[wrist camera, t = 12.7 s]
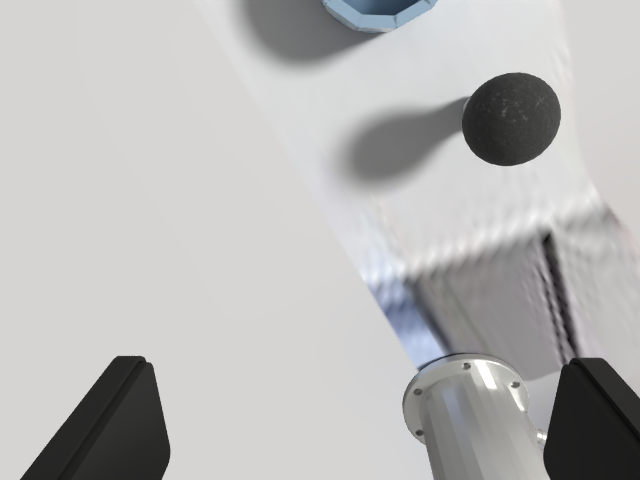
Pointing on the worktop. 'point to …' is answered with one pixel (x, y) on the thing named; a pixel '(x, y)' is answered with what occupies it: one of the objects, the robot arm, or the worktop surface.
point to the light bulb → (511, 119)
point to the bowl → (376, 13)
